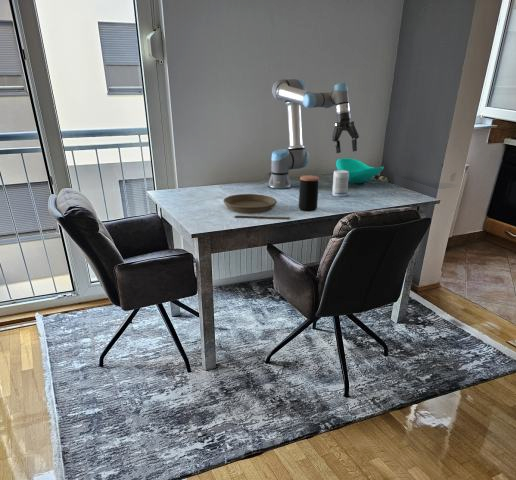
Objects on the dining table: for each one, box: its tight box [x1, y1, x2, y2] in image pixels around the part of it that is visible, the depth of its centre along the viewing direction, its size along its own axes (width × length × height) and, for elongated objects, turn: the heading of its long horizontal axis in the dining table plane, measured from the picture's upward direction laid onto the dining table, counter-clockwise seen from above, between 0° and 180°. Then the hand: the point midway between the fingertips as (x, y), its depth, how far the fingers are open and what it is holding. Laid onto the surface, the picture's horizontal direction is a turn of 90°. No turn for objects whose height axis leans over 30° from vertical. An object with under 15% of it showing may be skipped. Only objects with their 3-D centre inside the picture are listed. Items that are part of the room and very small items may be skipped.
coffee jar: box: [298, 174, 320, 213], centre depth 269 cm, size 11×11×18 cm
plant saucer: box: [223, 193, 277, 214], centre depth 275 cm, size 31×31×5 cm
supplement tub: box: [331, 169, 349, 198], centre depth 298 cm, size 10×10×15 cm
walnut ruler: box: [234, 215, 290, 220], centre depth 258 cm, size 30×2×1 cm, turn 84°
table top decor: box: [335, 157, 384, 184], centre depth 331 cm, size 40×28×13 cm
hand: (346, 152), depth 277 cm, fingers open, 13 cm apart
